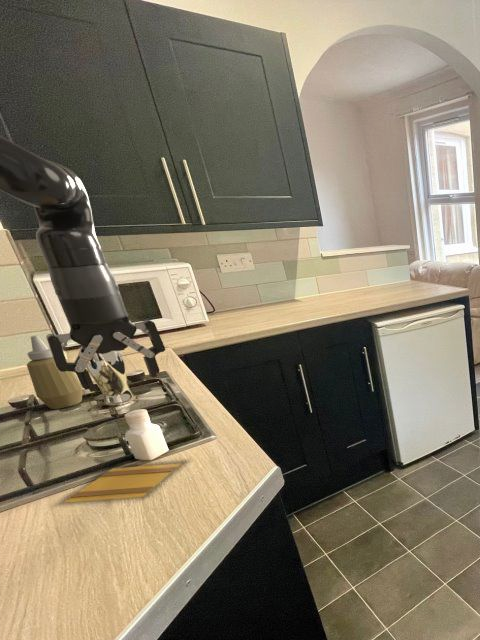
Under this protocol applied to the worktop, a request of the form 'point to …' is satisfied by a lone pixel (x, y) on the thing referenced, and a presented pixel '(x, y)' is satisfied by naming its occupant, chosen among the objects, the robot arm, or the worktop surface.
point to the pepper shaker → (144, 436)
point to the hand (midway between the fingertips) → (124, 383)
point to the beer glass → (111, 378)
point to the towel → (124, 483)
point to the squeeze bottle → (52, 378)
